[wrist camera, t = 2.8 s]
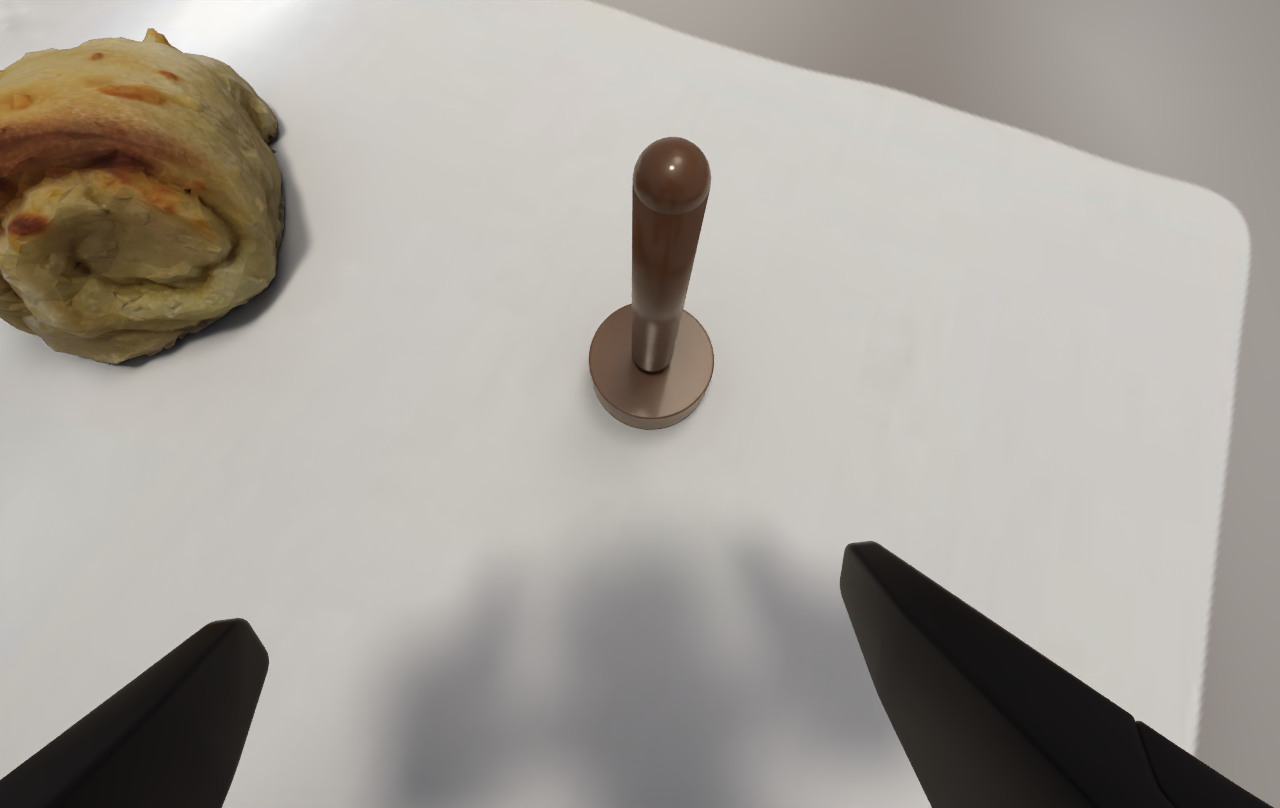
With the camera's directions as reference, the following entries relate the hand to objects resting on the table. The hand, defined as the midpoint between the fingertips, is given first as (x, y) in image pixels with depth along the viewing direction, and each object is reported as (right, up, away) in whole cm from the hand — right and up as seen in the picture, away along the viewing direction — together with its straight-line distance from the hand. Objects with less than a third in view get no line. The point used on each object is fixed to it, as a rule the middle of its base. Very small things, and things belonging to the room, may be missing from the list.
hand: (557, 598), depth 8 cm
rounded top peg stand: (+2, +4, +15) cm, 16 cm away
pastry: (-20, +11, +17) cm, 28 cm away
